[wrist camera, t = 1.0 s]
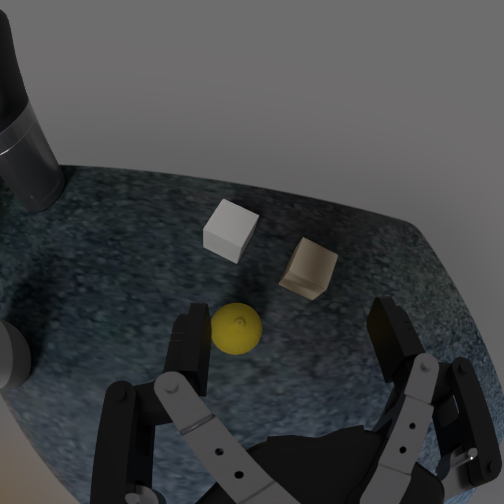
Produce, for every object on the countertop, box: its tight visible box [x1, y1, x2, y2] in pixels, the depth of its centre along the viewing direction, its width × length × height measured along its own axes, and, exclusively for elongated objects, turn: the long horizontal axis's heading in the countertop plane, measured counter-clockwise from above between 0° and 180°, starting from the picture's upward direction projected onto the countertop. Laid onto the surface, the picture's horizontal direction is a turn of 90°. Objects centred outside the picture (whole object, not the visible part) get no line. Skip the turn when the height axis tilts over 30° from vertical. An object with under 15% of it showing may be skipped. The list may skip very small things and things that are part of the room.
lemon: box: [211, 303, 262, 355], centre depth 29 cm, size 6×6×8 cm
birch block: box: [279, 237, 338, 300], centre depth 35 cm, size 5×5×5 cm
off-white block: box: [203, 199, 259, 264], centre depth 35 cm, size 5×5×5 cm
